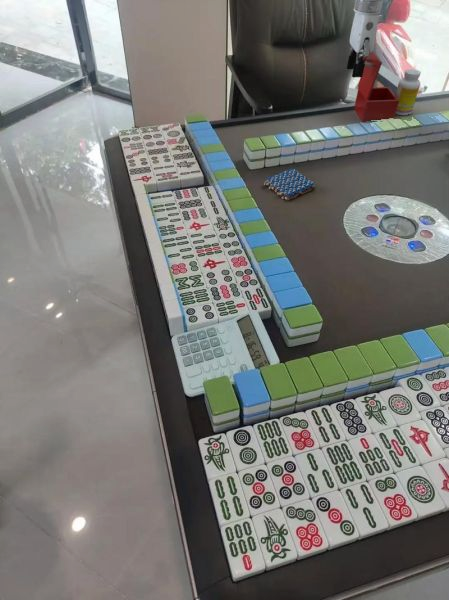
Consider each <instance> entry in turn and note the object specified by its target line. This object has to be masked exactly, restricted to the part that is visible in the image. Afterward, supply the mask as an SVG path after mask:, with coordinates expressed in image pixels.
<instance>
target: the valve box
mask: <svg viewBox="0 0 449 600" xmlns="http://www.w3.org/2000/svg"><path fill="white" fill-rule="evenodd" d="M395 95H396V93H394V92H393V91H392V89H391V88H390V86H377V87H375V86H374V87H373V89H372V92H371V94H370V97H369V100H366V99H365V97H364V96H363V94H362V93H361V91H360V89H359V88H358V87H357V93H356V98H355V102H354V106H355V108H354V107H353V109H354V110H355V112H356V114H357V116H358V117H359V119H360V121H361V122H362V123H367V122H366V121H371V120H381V119H389V118H394V119H395V116H396V114H395V113H396V110H397V106H398V103H399V100H398V99H397V97H396V96H395Z"/></svg>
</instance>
